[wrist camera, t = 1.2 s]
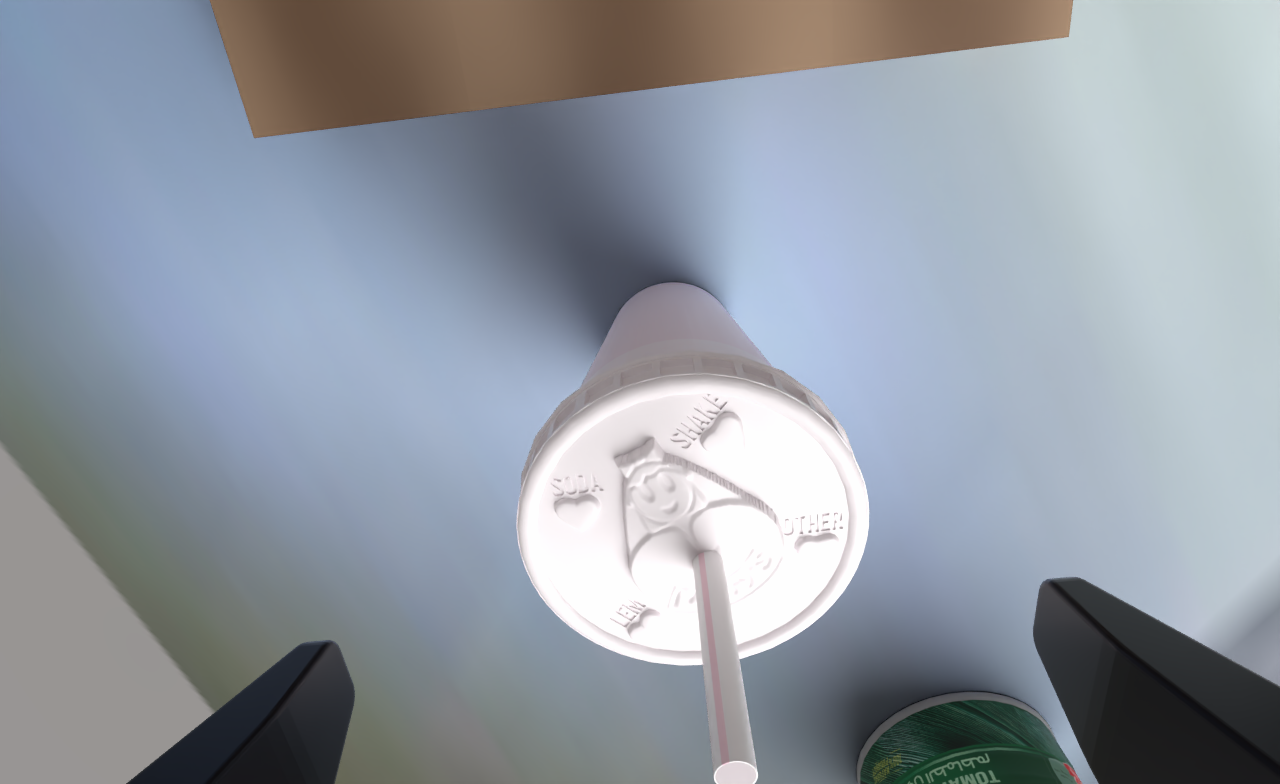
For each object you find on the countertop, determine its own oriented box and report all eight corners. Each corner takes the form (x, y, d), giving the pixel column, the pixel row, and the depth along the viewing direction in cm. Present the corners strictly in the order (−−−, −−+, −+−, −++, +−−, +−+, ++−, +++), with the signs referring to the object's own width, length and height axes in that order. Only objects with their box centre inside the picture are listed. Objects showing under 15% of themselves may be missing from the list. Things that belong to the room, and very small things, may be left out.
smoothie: (636, 468, 23) (629, 955, 11) (522, 307, 21) (341, 684, 8) (815, 374, 22) (1052, 808, 9) (713, 190, 20) (843, 433, 7)
